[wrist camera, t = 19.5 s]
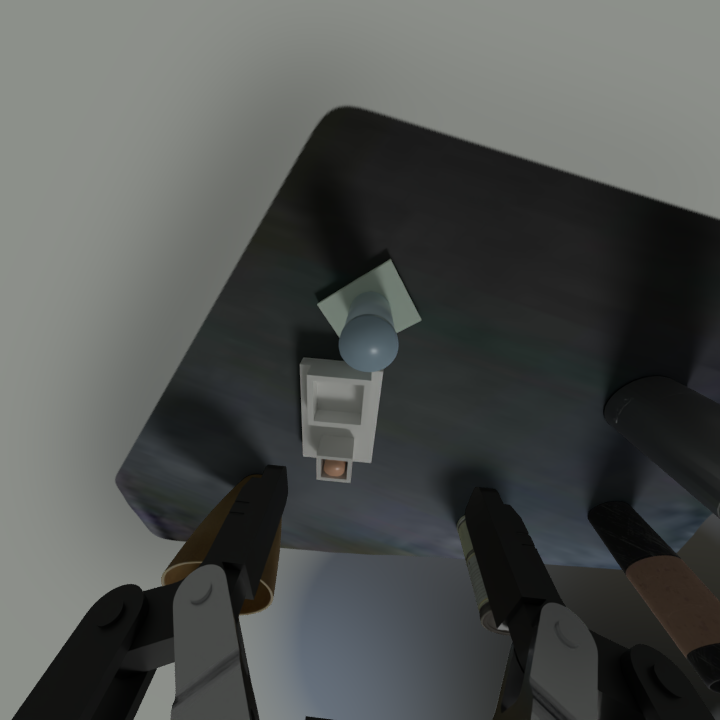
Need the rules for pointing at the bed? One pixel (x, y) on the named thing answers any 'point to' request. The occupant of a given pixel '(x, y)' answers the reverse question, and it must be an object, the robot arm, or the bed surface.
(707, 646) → the travel mug
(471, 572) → the coffee can
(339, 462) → the plunger
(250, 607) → the plant pot
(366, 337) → the blue-grey elongated rounded piece
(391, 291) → the mat
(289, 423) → the bed surface
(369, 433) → the housing
